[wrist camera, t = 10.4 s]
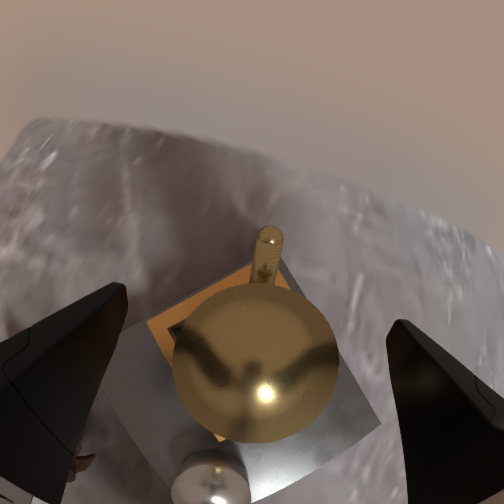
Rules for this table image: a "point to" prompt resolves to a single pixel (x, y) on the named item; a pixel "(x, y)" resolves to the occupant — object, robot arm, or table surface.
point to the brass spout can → (256, 356)
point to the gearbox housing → (201, 439)
